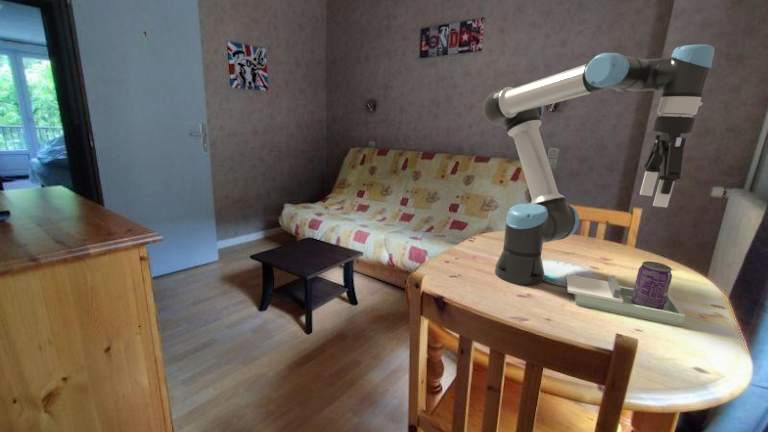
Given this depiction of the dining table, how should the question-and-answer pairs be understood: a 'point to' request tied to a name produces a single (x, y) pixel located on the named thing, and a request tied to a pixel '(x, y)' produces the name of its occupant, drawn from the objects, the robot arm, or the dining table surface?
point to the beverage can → (652, 285)
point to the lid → (595, 287)
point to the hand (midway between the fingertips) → (652, 200)
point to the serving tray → (636, 307)
